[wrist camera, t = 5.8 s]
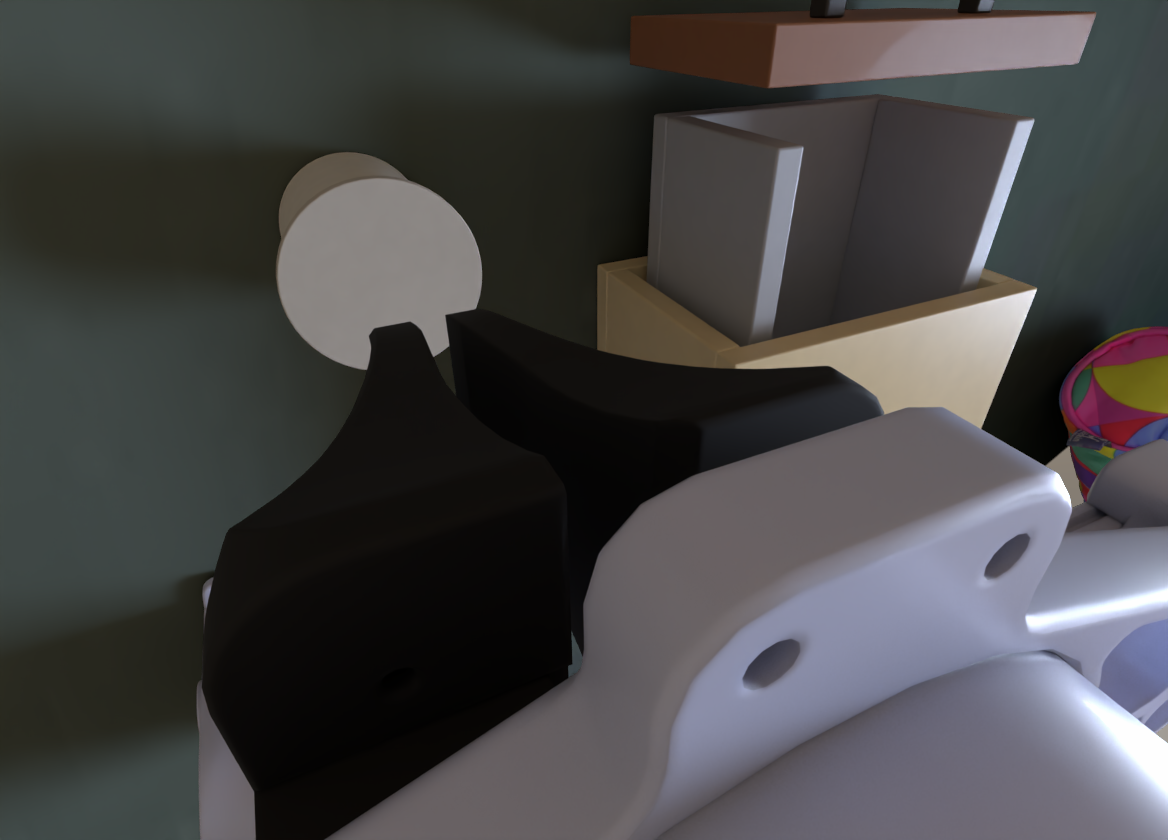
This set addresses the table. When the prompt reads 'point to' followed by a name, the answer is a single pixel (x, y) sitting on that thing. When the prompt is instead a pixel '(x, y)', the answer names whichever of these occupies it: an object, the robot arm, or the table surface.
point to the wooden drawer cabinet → (837, 340)
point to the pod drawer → (834, 160)
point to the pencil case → (1116, 400)
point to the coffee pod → (370, 256)
